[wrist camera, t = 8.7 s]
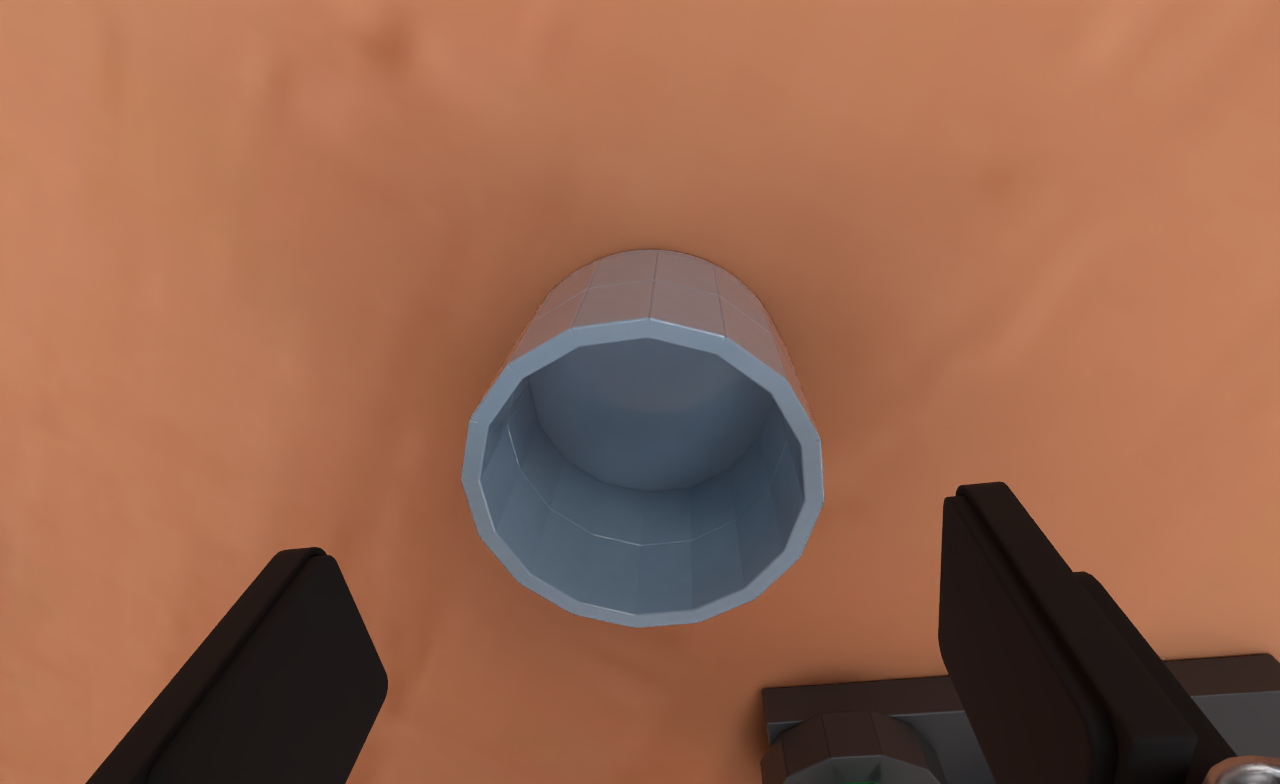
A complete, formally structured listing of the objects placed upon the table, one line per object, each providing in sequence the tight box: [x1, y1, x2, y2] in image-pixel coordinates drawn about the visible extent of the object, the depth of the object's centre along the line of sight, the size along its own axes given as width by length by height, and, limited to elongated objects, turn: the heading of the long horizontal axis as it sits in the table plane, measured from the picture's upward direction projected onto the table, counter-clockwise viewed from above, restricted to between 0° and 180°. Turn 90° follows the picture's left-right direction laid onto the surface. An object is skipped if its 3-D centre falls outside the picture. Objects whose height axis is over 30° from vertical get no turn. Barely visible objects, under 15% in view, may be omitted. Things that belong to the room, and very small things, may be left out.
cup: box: [461, 249, 825, 628], centre depth 16 cm, size 7×7×6 cm
